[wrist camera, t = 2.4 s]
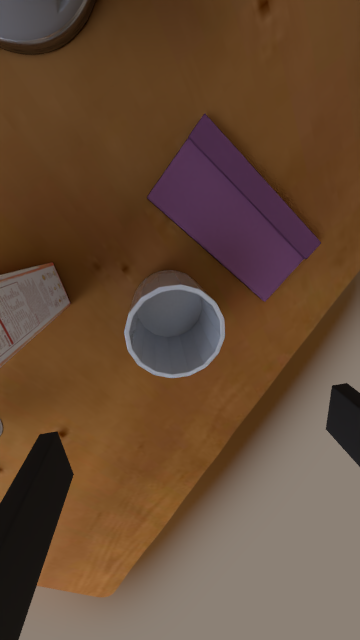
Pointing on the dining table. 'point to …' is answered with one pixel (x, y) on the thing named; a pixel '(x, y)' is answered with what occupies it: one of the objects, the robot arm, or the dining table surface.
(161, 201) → the plum cloth
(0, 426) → the wine glass
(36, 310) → the cracker box
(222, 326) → the gray cup
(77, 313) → the dining table surface
